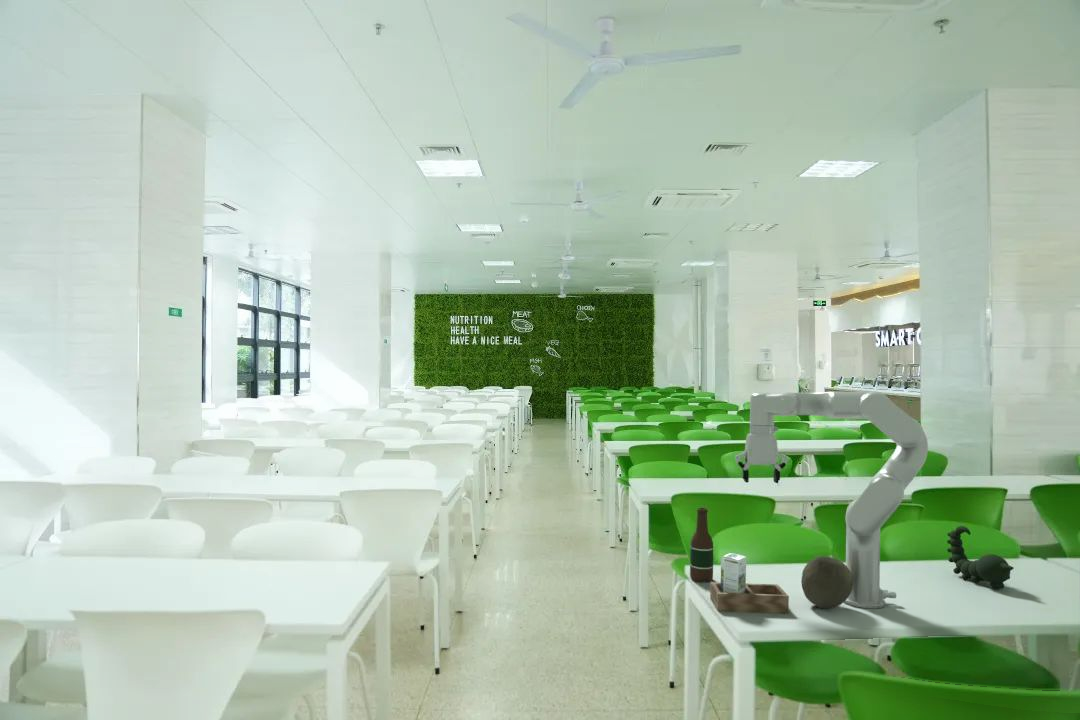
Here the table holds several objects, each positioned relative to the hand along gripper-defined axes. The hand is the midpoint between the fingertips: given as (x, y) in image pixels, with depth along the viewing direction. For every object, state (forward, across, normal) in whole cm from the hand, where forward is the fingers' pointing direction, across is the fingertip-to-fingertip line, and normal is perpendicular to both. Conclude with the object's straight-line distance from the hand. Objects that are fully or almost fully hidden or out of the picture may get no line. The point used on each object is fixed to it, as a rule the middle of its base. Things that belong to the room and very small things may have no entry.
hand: (761, 482), depth 223 cm
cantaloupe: (+34, -15, +18) cm, 42 cm away
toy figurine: (+35, -77, -12) cm, 85 cm away
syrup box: (+34, +13, +19) cm, 41 cm away
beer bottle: (+34, +18, -6) cm, 39 cm away
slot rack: (+34, +8, +19) cm, 40 cm away
